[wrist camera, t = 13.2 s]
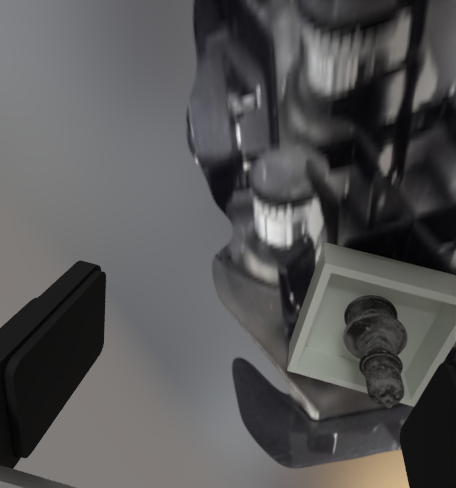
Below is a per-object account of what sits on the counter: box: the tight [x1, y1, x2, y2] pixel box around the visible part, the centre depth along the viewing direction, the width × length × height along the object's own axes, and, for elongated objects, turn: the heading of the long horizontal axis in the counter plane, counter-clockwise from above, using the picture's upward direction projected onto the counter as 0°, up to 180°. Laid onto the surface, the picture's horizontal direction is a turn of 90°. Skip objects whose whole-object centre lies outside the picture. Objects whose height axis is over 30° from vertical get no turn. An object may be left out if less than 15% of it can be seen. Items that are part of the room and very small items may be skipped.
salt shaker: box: [343, 295, 408, 409], centre depth 36 cm, size 6×6×12 cm
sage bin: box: [287, 242, 456, 407], centre depth 40 cm, size 14×14×4 cm
